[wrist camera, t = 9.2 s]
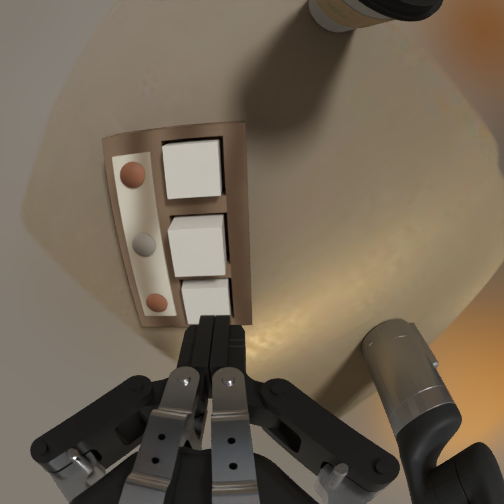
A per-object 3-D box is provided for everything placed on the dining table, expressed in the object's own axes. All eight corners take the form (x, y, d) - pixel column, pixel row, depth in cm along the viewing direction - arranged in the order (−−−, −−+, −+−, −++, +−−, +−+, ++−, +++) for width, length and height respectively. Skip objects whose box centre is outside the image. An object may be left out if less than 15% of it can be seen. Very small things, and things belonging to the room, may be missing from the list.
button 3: (220, 137, 28) (217, 141, 25) (222, 185, 30) (220, 195, 27) (170, 141, 28) (162, 146, 25) (175, 188, 30) (167, 199, 27)
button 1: (228, 270, 35) (227, 287, 32) (231, 304, 37) (230, 323, 34) (186, 271, 35) (181, 288, 32) (191, 305, 37) (188, 324, 34)
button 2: (223, 213, 30) (221, 227, 27) (226, 257, 32) (225, 275, 29) (174, 216, 30) (167, 230, 27) (181, 259, 32) (175, 276, 29)
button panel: (244, 121, 29) (245, 123, 25) (251, 305, 39) (252, 327, 35) (116, 134, 28) (99, 139, 24) (148, 307, 39) (140, 328, 35)
